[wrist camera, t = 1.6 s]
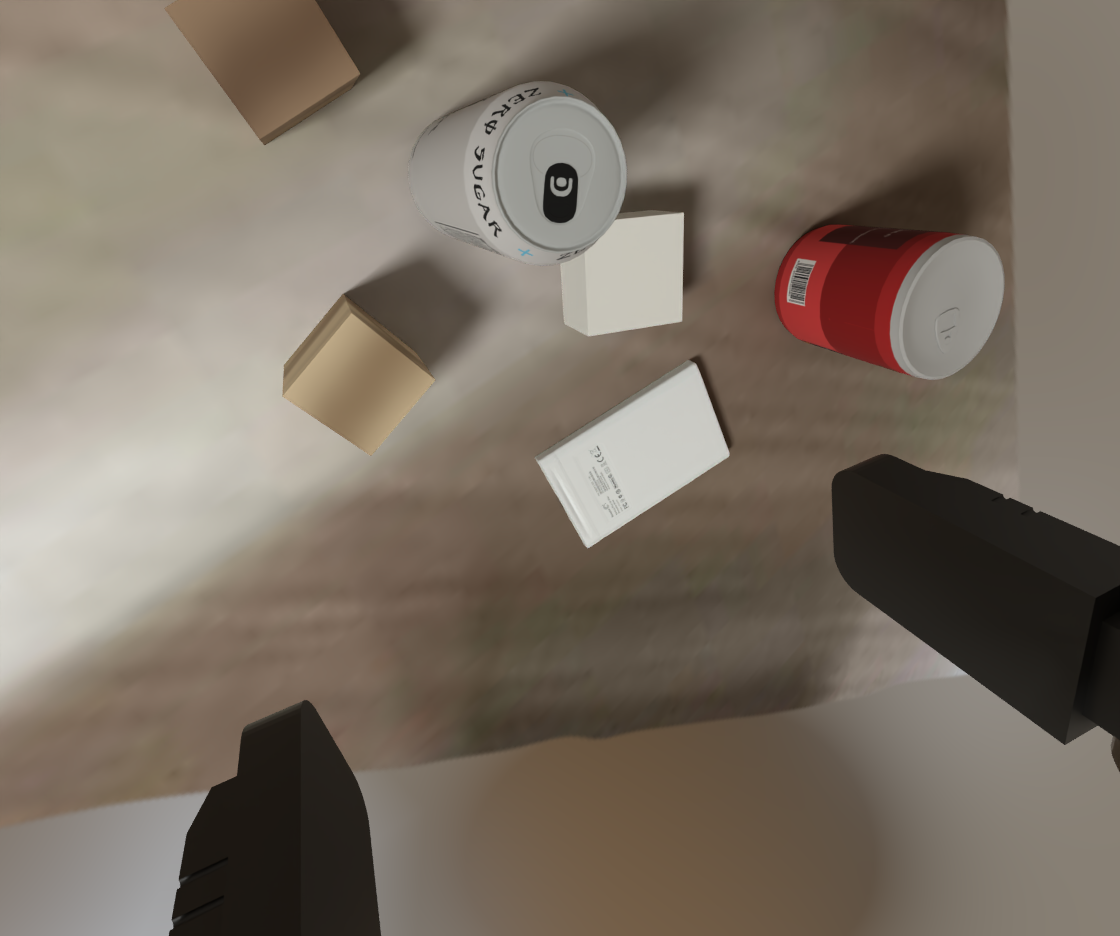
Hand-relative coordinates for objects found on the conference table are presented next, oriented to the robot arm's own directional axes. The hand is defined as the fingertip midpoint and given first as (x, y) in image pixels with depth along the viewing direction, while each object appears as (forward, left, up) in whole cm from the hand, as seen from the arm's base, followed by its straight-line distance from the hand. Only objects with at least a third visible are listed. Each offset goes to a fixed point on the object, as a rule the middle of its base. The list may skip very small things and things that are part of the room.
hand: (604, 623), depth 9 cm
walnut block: (-11, 0, -31) cm, 33 cm away
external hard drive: (+16, +13, -31) cm, 37 cm away
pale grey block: (+3, +14, -31) cm, 34 cm away
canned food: (+9, +29, -31) cm, 43 cm away
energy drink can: (-4, +7, -31) cm, 32 cm away
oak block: (+3, -2, -30) cm, 31 cm away
